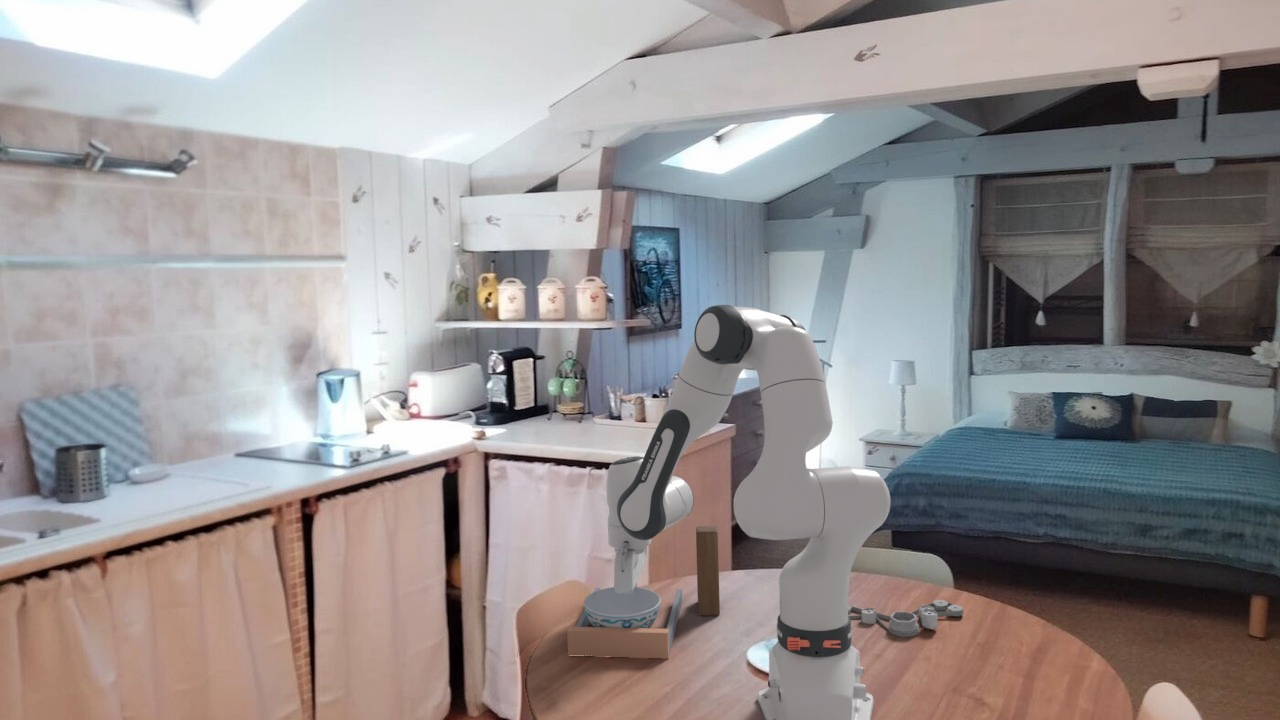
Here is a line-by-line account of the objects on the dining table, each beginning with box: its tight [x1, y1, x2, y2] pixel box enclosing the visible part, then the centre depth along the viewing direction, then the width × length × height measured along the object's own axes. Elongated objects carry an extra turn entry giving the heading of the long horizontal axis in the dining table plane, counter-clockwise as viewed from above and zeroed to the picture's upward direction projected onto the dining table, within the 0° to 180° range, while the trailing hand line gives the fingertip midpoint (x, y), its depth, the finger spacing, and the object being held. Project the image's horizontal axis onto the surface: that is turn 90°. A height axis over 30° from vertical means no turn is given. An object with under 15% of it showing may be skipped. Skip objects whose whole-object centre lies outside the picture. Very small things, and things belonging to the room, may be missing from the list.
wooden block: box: [695, 525, 721, 616], centre depth 193 cm, size 9×4×18 cm, turn 176°
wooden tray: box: [566, 587, 683, 660], centre depth 184 cm, size 29×19×5 cm, turn 172°
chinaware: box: [583, 586, 662, 628], centre depth 179 cm, size 15×15×8 cm
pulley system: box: [848, 599, 964, 638], centre depth 183 cm, size 27×5×15 cm
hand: (631, 600), depth 188 cm, fingers closed
